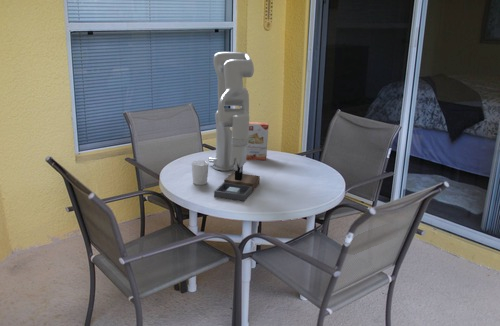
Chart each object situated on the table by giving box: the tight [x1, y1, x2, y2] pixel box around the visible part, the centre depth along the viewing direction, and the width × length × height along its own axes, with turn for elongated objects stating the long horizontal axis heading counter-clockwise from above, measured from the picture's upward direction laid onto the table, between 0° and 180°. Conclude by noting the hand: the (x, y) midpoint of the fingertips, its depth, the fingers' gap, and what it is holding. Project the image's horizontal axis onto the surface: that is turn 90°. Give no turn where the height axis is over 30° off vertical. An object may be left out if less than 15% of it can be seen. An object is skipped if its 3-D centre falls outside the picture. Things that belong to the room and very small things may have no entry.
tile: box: [226, 187, 240, 194], centre depth 223 cm, size 5×5×2 cm
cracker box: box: [246, 121, 270, 161], centre depth 276 cm, size 14×6×21 cm, turn 90°
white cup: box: [191, 160, 210, 186], centre depth 236 cm, size 8×8×10 cm
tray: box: [213, 181, 253, 203], centre depth 223 cm, size 14×12×3 cm
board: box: [223, 171, 261, 193], centre depth 235 cm, size 14×12×4 cm
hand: (238, 179), depth 228 cm, fingers closed
